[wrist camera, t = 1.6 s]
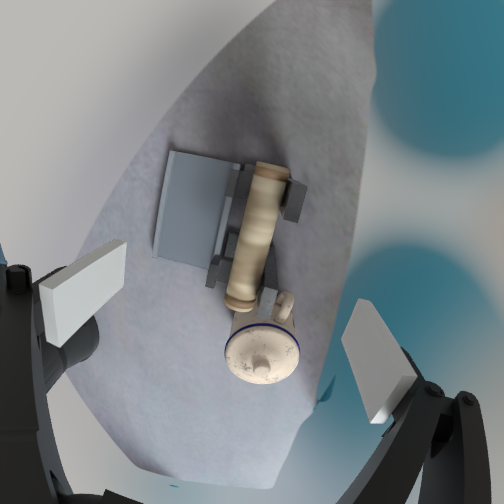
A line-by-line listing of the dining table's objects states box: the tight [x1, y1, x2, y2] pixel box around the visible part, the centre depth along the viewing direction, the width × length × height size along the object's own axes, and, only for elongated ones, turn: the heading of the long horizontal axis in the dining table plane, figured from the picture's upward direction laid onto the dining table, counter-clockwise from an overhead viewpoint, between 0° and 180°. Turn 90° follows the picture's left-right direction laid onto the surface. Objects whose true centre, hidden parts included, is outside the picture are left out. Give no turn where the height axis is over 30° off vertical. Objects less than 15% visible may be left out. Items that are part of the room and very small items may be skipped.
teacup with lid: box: [225, 291, 300, 384], centre depth 35 cm, size 12×9×12 cm
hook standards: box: [205, 163, 307, 320], centre depth 30 cm, size 6×13×14 cm, turn 167°
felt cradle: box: [152, 151, 241, 269], centre depth 36 cm, size 9×14×2 cm, turn 167°
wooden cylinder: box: [224, 161, 290, 312], centre depth 27 cm, size 14×3×3 cm, turn 167°
